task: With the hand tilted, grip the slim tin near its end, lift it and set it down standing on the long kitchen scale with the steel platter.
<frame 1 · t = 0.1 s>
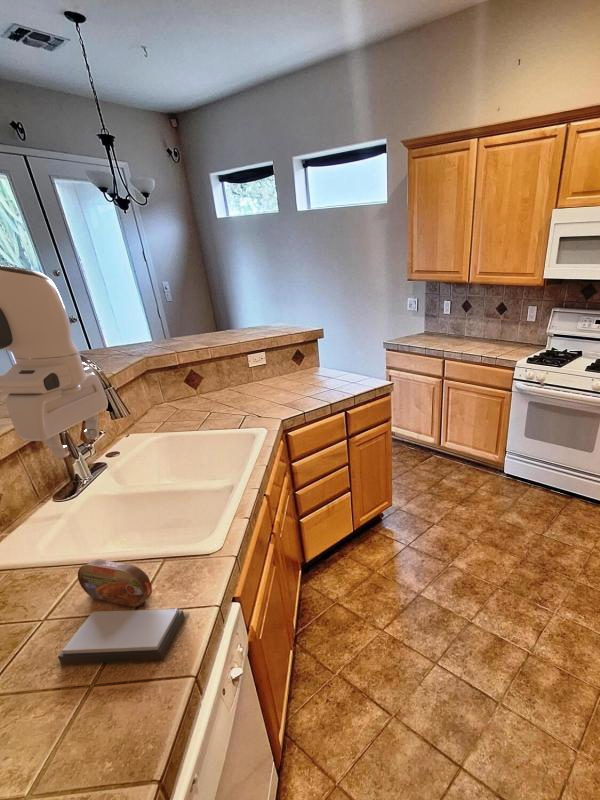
hand: (78, 447, 80), 29 cm above the counter, tool pointing down, fingers open, 8 cm apart
tin: (121, 600, 85), on the counter
scale: (127, 641, 75), on the counter
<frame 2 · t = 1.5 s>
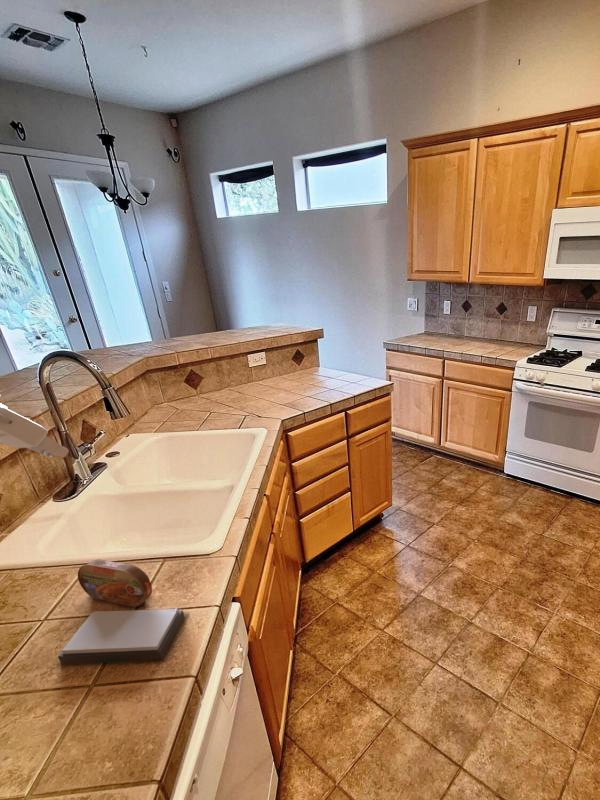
hand: (60, 454, 82), 27 cm above the counter, tool tilted 45°, fingers open, 8 cm apart
nothing on the counter moved.
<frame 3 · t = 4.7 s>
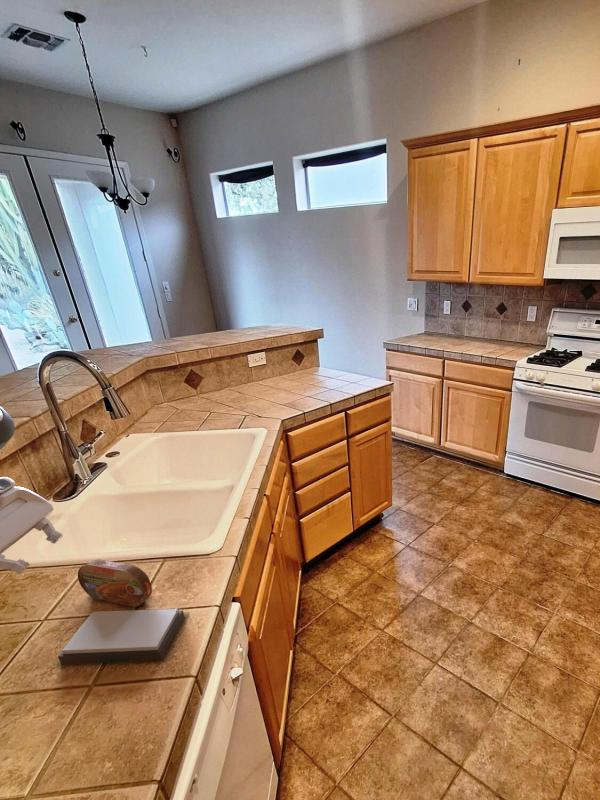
hand: (43, 553, 80), 11 cm above the counter, tool tilted 45°, fingers open, 8 cm apart
nothing on the counter moved.
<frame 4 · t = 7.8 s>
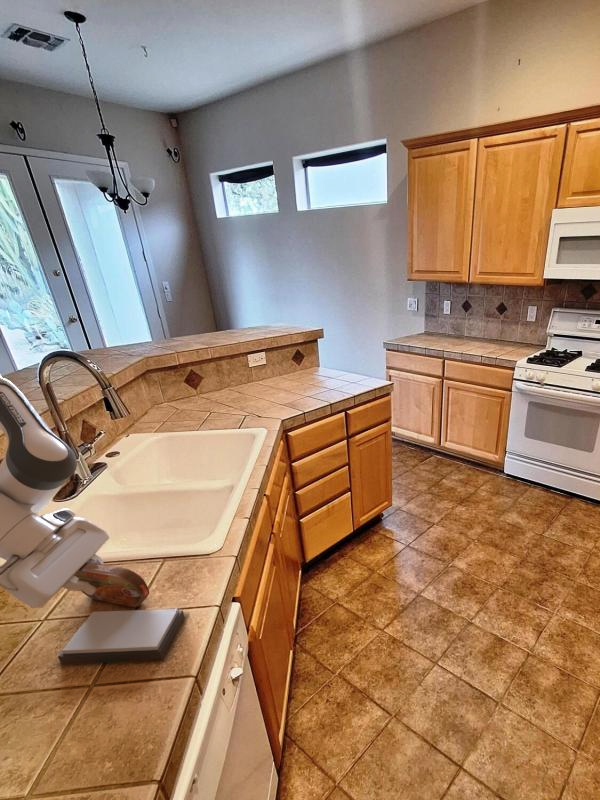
hand: (102, 582, 83), 4 cm above the counter, tool tilted 45°, fingers closed on tin, 3 cm apart
tin: (121, 599, 85), on the counter, touching gripper
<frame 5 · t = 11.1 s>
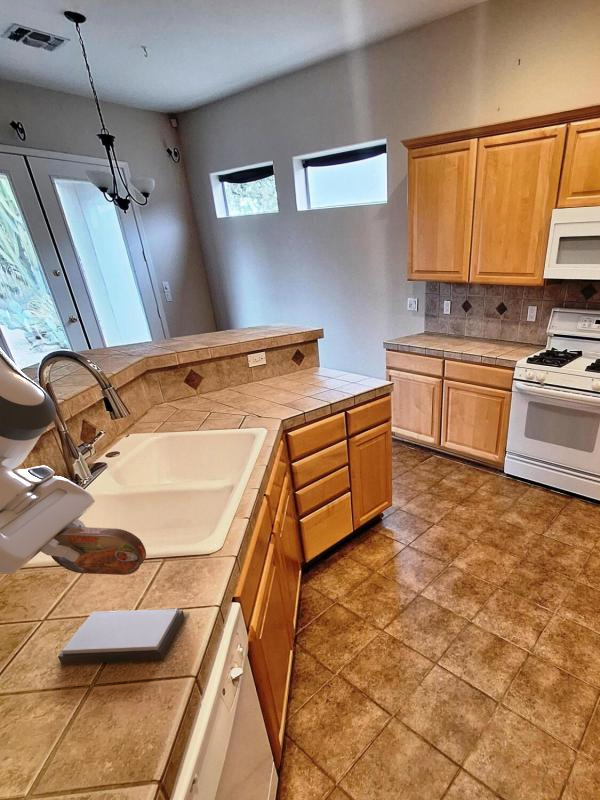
hand: (86, 549, 72), 16 cm above the counter, tool tilted 45°, fingers closed on tin, 3 cm apart
tin: (108, 568, 75), point 12 cm above the counter, touching gripper
when the fingers open (7 cm above the counter, at t = 14.4 s): tin stays where it is, resting on scale.
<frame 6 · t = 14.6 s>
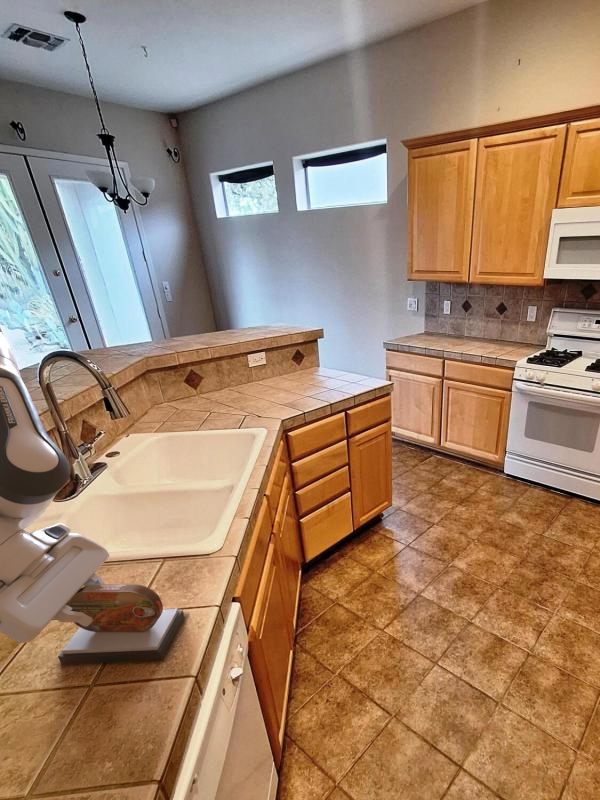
hand: (101, 609, 72), 7 cm above the counter, tool tilted 45°, fingers open, 4 cm apart
tin: (123, 626, 75), point 3 cm above the counter, touching gripper, scale
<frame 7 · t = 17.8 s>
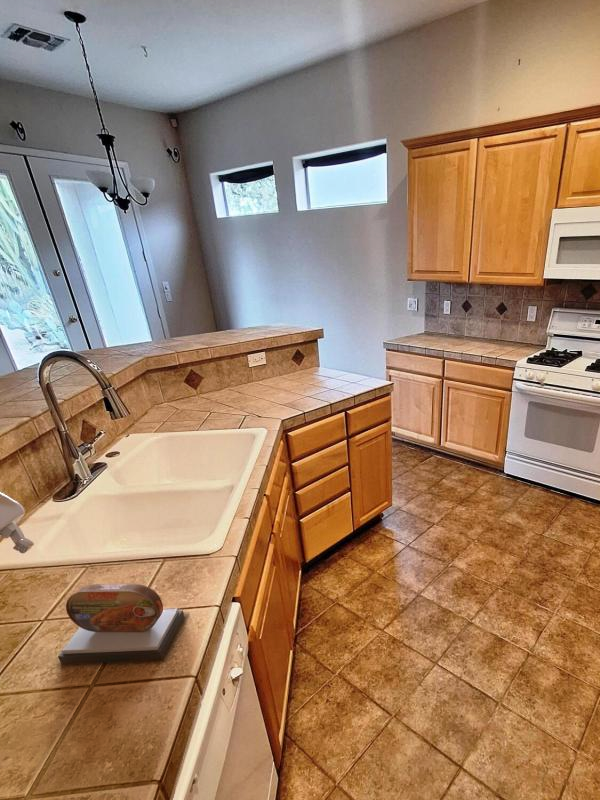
hand: (7, 566, 66), 17 cm above the counter, tool tilted 45°, fingers open, 8 cm apart
tin: (123, 626, 75), point 3 cm above the counter, touching scale
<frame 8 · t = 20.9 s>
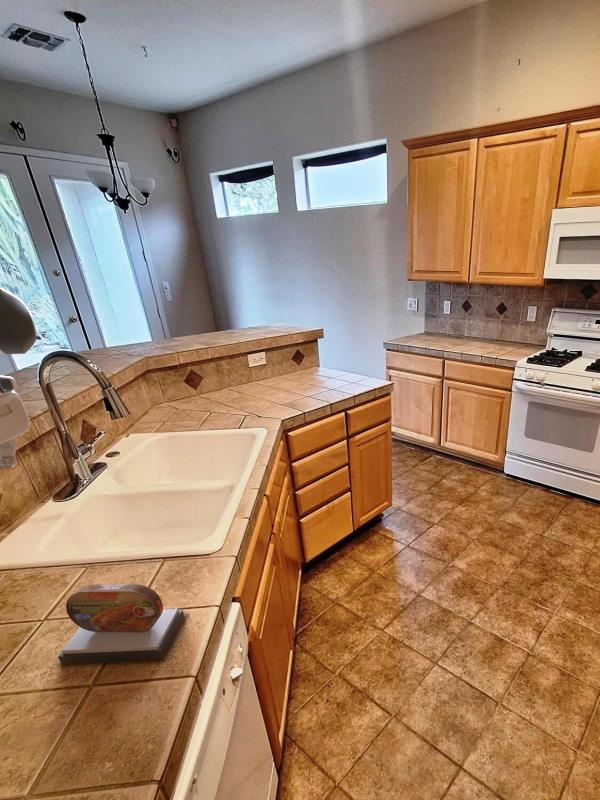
nothing on the counter moved.
at the end: tin inside the target area on the scale (0.7 cm from its centre), point 2.8 cm above the scale's base; tin tilted 0°; the gripper is holding nothing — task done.
